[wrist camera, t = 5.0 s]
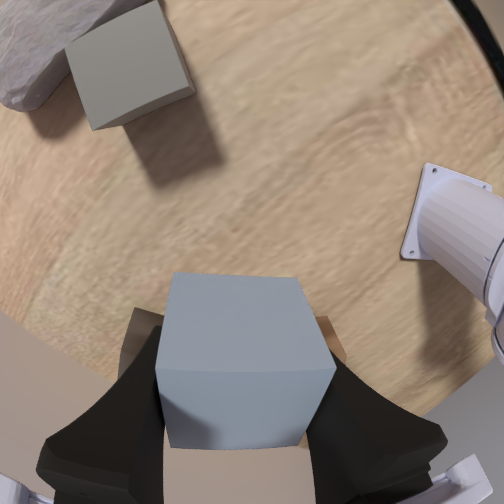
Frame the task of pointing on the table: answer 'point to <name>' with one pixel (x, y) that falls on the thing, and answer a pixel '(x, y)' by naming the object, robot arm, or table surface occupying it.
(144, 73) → the grey cube
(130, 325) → the ebony cube
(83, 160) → the table surface
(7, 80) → the stone block
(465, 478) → the robot arm
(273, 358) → the slate blue cube
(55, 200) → the table surface
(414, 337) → the table surface
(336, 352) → the walnut cube
